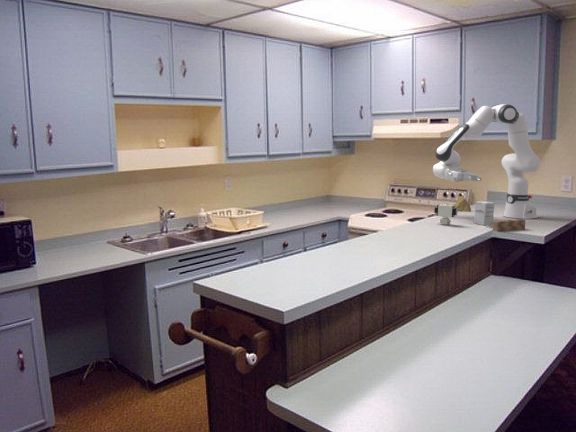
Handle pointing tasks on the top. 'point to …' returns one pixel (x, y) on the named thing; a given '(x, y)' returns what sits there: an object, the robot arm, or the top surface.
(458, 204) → the rock
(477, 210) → the supplement box
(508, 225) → the walnut dock
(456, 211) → the pneumatic valve
